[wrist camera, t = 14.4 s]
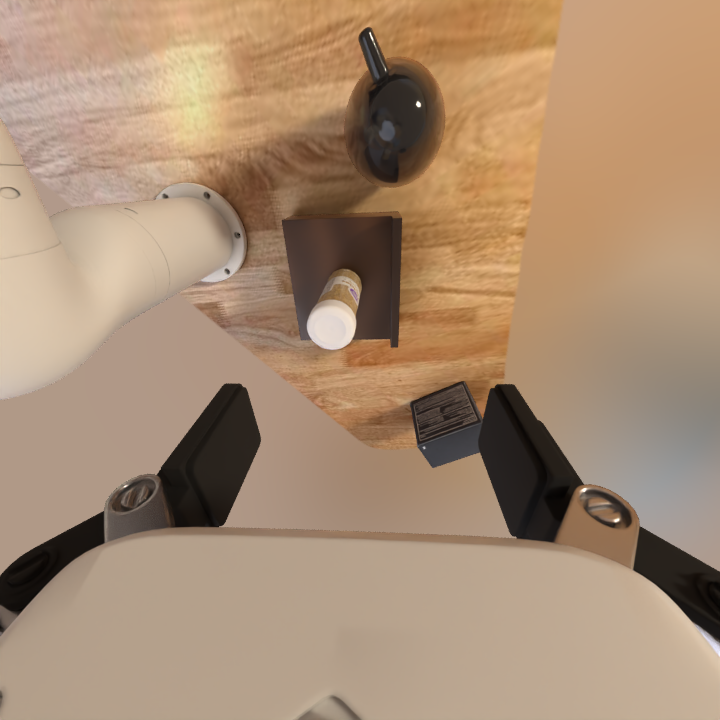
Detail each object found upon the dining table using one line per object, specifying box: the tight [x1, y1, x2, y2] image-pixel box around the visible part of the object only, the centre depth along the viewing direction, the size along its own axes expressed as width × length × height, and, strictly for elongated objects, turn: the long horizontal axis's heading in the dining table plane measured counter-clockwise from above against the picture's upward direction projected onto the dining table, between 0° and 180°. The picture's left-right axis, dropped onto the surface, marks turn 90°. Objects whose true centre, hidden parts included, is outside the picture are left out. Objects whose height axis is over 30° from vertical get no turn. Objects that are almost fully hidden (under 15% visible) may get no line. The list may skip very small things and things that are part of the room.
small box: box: [410, 381, 483, 468], centre depth 50 cm, size 11×6×10 cm, turn 121°
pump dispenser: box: [344, 27, 445, 188], centre depth 28 cm, size 10×10×15 cm
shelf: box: [282, 212, 402, 347], centre depth 40 cm, size 14×16×8 cm
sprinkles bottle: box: [307, 269, 362, 350], centre depth 33 cm, size 5×5×14 cm
